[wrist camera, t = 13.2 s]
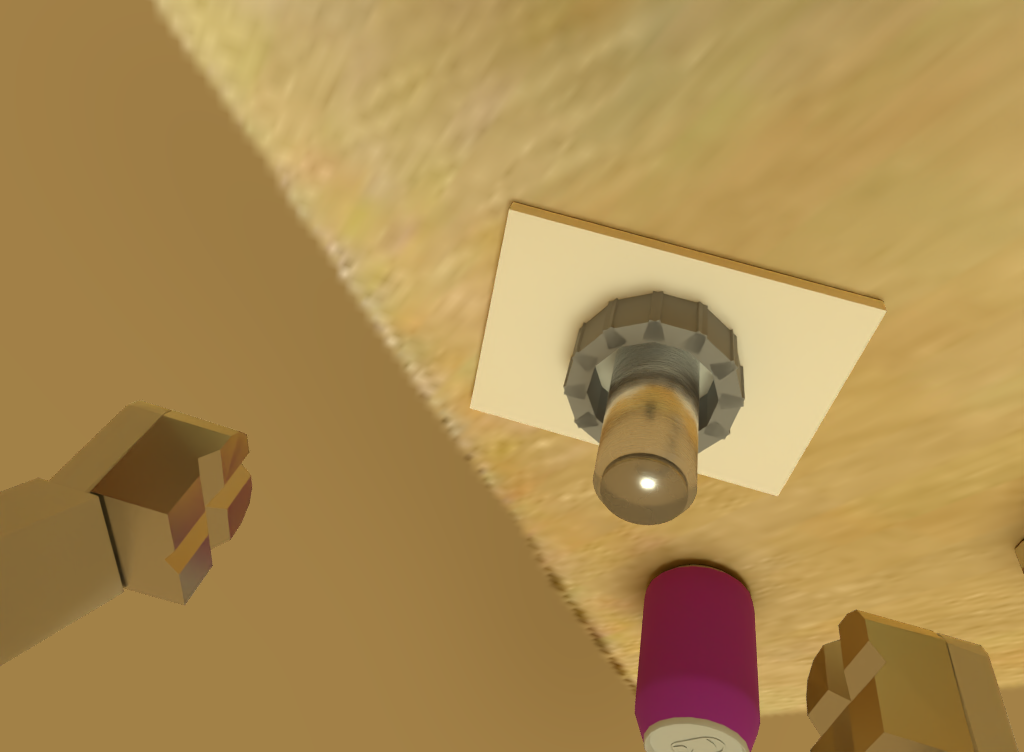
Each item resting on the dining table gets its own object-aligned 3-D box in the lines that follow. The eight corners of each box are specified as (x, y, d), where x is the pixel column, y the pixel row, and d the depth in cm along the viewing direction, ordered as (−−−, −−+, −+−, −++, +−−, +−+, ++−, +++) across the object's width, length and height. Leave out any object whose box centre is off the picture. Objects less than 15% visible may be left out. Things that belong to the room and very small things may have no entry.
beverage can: (671, 633, 59) (663, 789, 49) (627, 569, 55) (609, 723, 46) (769, 617, 55) (781, 781, 46) (728, 547, 52) (732, 708, 42)
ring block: (883, 301, 39) (898, 342, 36) (776, 485, 48) (781, 531, 45) (513, 201, 40) (496, 233, 37) (473, 398, 49) (457, 438, 46)
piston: (712, 342, 42) (711, 472, 33) (684, 407, 45) (677, 542, 36) (627, 319, 42) (606, 442, 34) (605, 385, 45) (580, 513, 37)
